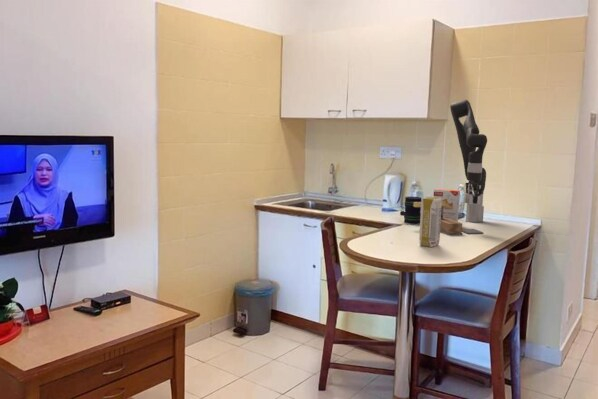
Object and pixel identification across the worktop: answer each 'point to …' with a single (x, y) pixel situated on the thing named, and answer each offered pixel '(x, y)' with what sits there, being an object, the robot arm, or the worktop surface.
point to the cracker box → (449, 202)
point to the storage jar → (412, 210)
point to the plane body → (450, 227)
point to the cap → (471, 199)
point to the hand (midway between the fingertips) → (472, 202)
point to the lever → (418, 204)
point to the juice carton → (430, 221)
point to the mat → (471, 231)
